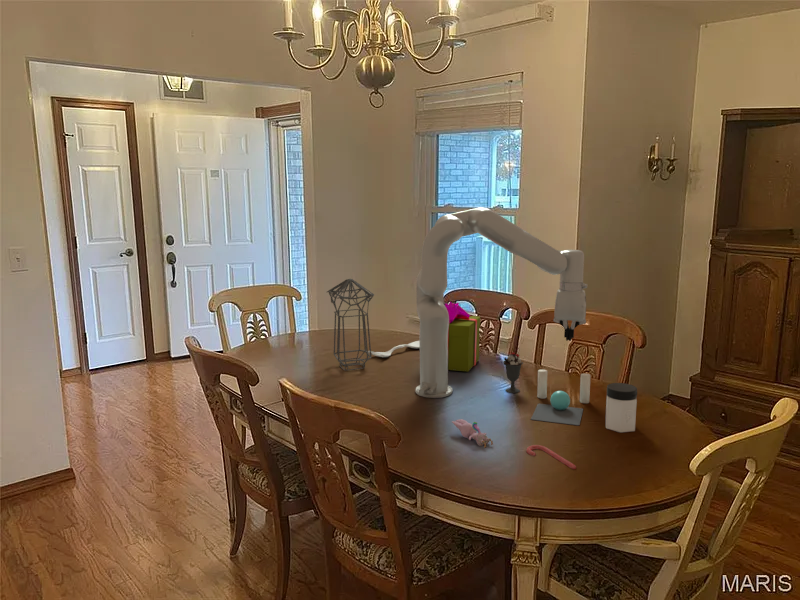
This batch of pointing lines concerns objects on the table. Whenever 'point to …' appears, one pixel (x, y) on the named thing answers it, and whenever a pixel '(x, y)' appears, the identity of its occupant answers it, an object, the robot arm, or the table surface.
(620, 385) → the jar
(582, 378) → the right post
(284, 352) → the table surface
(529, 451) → the candy cane
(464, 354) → the gift box
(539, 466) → the table surface
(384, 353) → the spoon
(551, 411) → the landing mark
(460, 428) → the pink elongated figure
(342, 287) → the geometric lantern
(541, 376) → the left post
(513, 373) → the sundae
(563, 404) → the ball
